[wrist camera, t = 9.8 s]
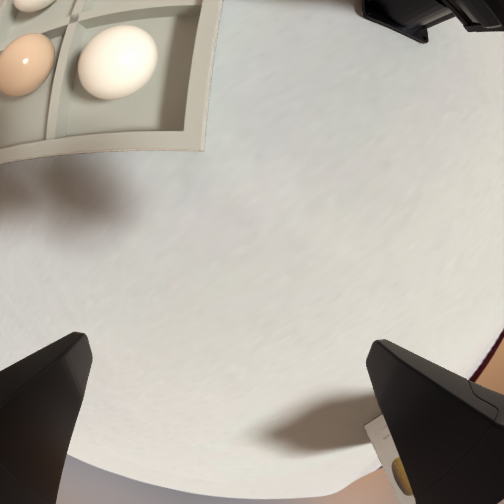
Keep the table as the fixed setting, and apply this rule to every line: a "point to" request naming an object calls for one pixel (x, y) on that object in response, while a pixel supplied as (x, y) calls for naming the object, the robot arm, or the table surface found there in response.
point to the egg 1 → (31, 5)
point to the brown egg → (26, 64)
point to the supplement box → (390, 459)
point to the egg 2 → (117, 62)
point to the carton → (122, 110)
